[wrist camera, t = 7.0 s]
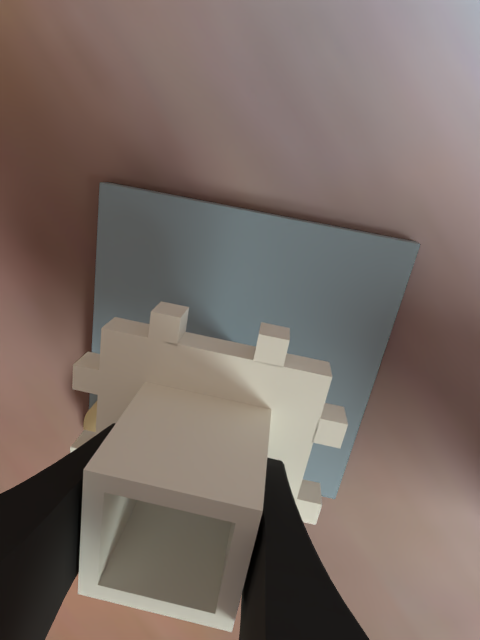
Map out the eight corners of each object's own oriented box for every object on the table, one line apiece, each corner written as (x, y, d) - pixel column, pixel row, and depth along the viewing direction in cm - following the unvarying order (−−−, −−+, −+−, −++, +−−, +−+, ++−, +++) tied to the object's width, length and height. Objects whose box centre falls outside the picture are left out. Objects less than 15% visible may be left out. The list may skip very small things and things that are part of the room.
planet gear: (363, 343, 12) (407, 446, 8) (299, 548, 15) (303, 710, 11) (90, 286, 13) (-25, 351, 8) (81, 496, 16) (-6, 631, 11)
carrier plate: (414, 241, 18) (445, 257, 14) (333, 488, 23) (341, 545, 19) (107, 182, 18) (64, 183, 15) (93, 433, 23) (59, 478, 20)
